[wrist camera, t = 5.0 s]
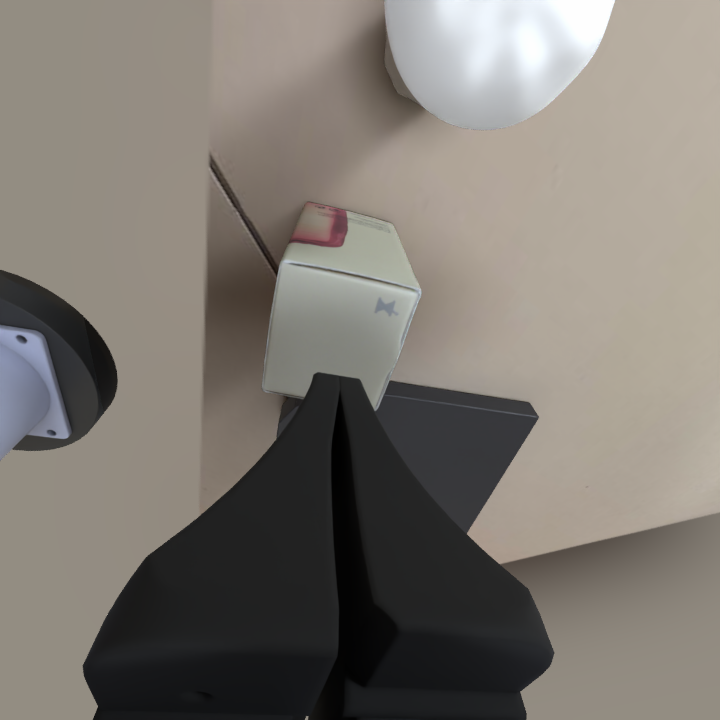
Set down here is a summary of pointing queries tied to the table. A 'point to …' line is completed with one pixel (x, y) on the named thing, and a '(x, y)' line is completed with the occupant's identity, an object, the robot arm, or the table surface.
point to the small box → (339, 303)
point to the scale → (450, 441)
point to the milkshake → (489, 55)
